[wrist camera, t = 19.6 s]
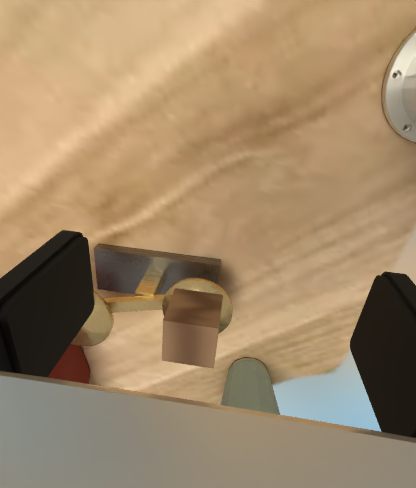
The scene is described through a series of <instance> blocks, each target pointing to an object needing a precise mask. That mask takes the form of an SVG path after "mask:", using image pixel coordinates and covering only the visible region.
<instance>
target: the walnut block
mask: <svg viewBox="0 0 416 488" xmlns="http://www.w3.org/2000/svg"><path fill="white" fill-rule="evenodd" d="M222 300H223V295H221V294H214V293H207V292H200V291H193V290H186V289H179V288H175V289H174V292H173V295H172V297H171V300H170V303H169V306H168V308H167V311H166V314H165V316H164V319H163V345H162V361H169V362H175V363H182V364H188V365H195V366H201V367H207V368H214V362H215V355H216V347H217V339H218V332H219V324H220V316H221V308H222Z"/></svg>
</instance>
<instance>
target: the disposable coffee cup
mask: <svg viewBox="0 0 416 488" xmlns="http://www.w3.org/2000/svg"><path fill="white" fill-rule="evenodd" d="M221 405H224V406H230V407H236V408H242V409H248V410H254V411H260V412H266V413H273V414H279V415H280V413H279V409H278V406H277V402H276V398H275V394H274V391H273V387H272V383H271V380H270V376H269V372H268V371H267V369H266V368H265V366H264V365H263V363H262V362H260V361H258V360H256V359H254V358H242V359H239V360H236V361H235V362H234V363H233V365H232V366H231V368H230V369H229V372H228V376H227V381H226V385H225V389H224V393H223V398H222V402H221Z"/></svg>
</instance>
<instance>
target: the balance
mask: <svg viewBox="0 0 416 488" xmlns="http://www.w3.org/2000/svg"><path fill="white" fill-rule="evenodd" d="M94 255H95V265H96V275H97V285H98V289H103V290H110V291H117V292H124V293H131V294H135V295H136V296H128V297H109V298H102V297H101V296H100V295H99V294H98V293H96V292H95V291H94V301H95V305H94V309H93V312H92V313H91V315H90V316H89V318H88V319H87V321H86V322H85V324H84V325H83V327H82V328H81V329H80V331H79V332H78V334H77V335H76V337H75V338H74V340H73V341H72V343H71V344H73V345H78V346H92V345H96V344H99V343H101V342H102V341H104V340H105V339H106V338H107V337H108V335H109V333H110V332H111V330H112V327H113V314H112V312H127V311H143V310H159V309H162V310H163V314H164V316H165V314H166V311H167V308H168V306H169V303H170V300H171V297H172V295H173V292H174V289H175V288H179V289H186V290H193V291H200V292H207V293H214V294H221V295H223V300H222V308H221V316H220V324H219V332H218V333H220V332H222V331H223V330H224V329H225V328H226V327H227V326H228V325H229V323H230V321H231V318H232V309H233V308H232V302H231V300H230V297H229V296H228V294H227V293H226V292H225V290H224V289H222V288H221V287H220V286H219V285H217V282H218V274H219V265H220V259H213V258H205V257H197V256H190V255H182V254H174V253H167V252H159V251H151V250H144V249H136V248H128V247H121V246H113V245H105V244H98V245H97V246H96V247H95V248H94Z"/></svg>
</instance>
